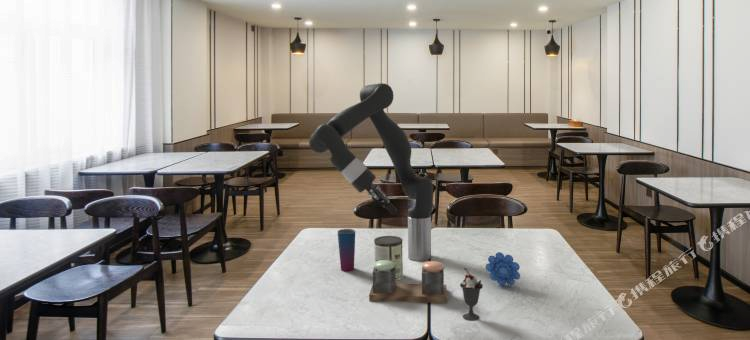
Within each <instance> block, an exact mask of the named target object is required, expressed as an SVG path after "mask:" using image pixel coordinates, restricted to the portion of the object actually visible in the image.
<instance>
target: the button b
mask: <svg viewBox="0 0 750 340" xmlns="http://www.w3.org/2000/svg"><path fill="white" fill-rule="evenodd" d="M422 266H423V270H425V271H426V272H429V273H439V271H441V270H442V269H443V268H444V265H443V263H442V262H440V261H435V260H427V261H424V262H423V263H422Z"/></svg>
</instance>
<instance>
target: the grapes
mask: <svg viewBox="0 0 750 340" xmlns="http://www.w3.org/2000/svg"><path fill="white" fill-rule="evenodd" d="M487 261H488V263H486V265H485V269H486V271H487V272H489V275H488V276H489V279H490V280H491V281H494V282H495V281H497V284H498V285H499V286H502V287H504V286H506V285H508V286H514V285H515V283H516V281H515V280H520V277H521V274H520V272H519V270H520V264H519V263H518V262H516V261H514V257H513V256H512V255H511V254H506V255H505V254H504V253H503V252H501V251H498V252H496V253H495V254H494V255H493V254H492V255H488V259H487Z"/></svg>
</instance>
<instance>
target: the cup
mask: <svg viewBox="0 0 750 340" xmlns="http://www.w3.org/2000/svg"><path fill="white" fill-rule="evenodd" d="M337 240H338V252H339V261H340V262H339V263H340V271H343V272H351V271H354V269H355V252H356V230H355V229H352V228H342V229H339V230H337Z"/></svg>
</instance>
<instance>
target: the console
mask: <svg viewBox="0 0 750 340" xmlns="http://www.w3.org/2000/svg"><path fill="white" fill-rule="evenodd" d="M444 270H445V269H444V267H443V269H442V270H441V271H439V273H429V272H426V271H425V270H423V265H422V268H421V283H401V282H397V281H396V266H394V268H393V269H392V270H391V272H385V271H377V270H376V269H375V266H374V267H373V270H372V286H371V289H370V292H369V295H368V300H369V302H392V303H393V302H397V303H399V302H400V303H425V304H427V303H428V304H429V303H431V304H433V303H434V304H447V303H448V294H447V293H448V291H447V284H444V283H445V281H444V280H445V278H444V277H445V275H444V274H445V272H444Z"/></svg>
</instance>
